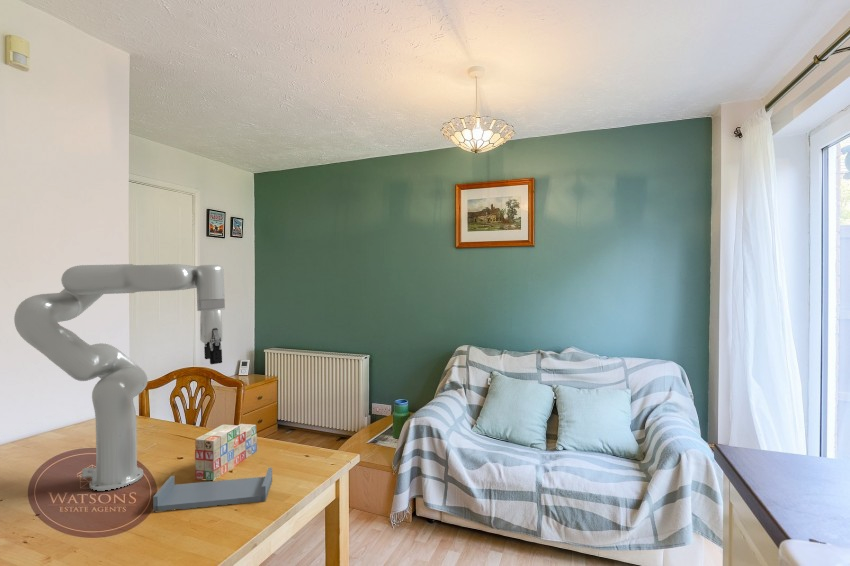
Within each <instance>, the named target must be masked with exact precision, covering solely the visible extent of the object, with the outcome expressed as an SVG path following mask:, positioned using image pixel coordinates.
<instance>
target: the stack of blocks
mask: <svg viewBox="0 0 850 566" xmlns="http://www.w3.org/2000/svg"><path fill="white" fill-rule="evenodd" d="M257 442H258V434H257V425H256V424H250V423H249V424H248V423H247V424H246V423H239V424H238V425H235V424H221V425H219V426H217V427H216V428H214V429H211V430H210V431H208V432H206V433H205V434H203V435H200V436H198V437H196V438H195V442H194V444H195V450H194V460H195V471H194V472H195V480H198V479H206V480H205V481H207V480H215V479H216V478H218V477H219V476H221V475H222V476H224V475H225V474H226V472H227V473H228V472H229V470H230V471H231V470H233V469H234V468H235V467H237V466H238V465H239V464H240V463H242V462H243V461H245V460H246V459H247V458H249V457H251V456H253V454H255V453H256V452H257V451H258V443H257ZM244 459H245V460H244ZM237 464H238V465H237ZM224 473H225V474H224ZM223 474H224V475H223ZM222 476H221V477H222ZM219 478H220V477H219ZM219 478H218V479H219ZM216 480H217V479H216ZM216 480H215V481H216Z"/></svg>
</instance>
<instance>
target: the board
mask: <svg viewBox="0 0 850 566" xmlns="http://www.w3.org/2000/svg"><path fill="white" fill-rule="evenodd" d="M266 471H267V472H266V474H265V476H256V477H245V478H244V477H243V478H235V479H234V478H233V479H224V480H215V481H200V482H192V483H191V482H190V483H179V484H177V483H176V484H175V482H176V481H175V477H176V476H175V475H170V476H169V478H168V479H167V480H166V481H165V482H164V483H163V485H162V486H161V487H160V488H159V489H158V490H157V492H156V493H155V494H154V495H153V496H152V504H153V506H152V507H153V509H152V512H153V513H155V512H154V511H162V512H166V511H165V510H172V511H175V510H174V509H182V510H189V509H190V510H192V509H198V508H197V507H202V508H209V507H208V506H212V507H218V506H217V505H222V506H228V505H227V504H232V505H239V504H240V503H242V504H249V503H250V504H251V503H259V502H267V498H268V495H269V493H270V490H271V489H270V488H271V486H272V482H273V467H267V470H266ZM191 508H192V509H191Z"/></svg>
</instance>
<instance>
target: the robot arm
mask: <svg viewBox="0 0 850 566" xmlns="http://www.w3.org/2000/svg"><path fill="white" fill-rule="evenodd" d="M224 275H225V273H224V268H223V266H221V265H218V264H201V265H190V264H189V265H188V264H176V263H174V264H170V263H169V264H132V263H128V264H127V263H121V264H120V263H119V264H116V263H115V264H82V265H80V264H79V265H75V266H72V267H69V268H67V269H65V271H64V272H63V273H62V276H61V279H60V280H61V285H62V287H63V289H62V290H61V291H59V292H51V293H41V294H36V295H31V296H29V297H27V298H25V299H24V300H22V301H21V302H20V304H18V306H17V307H16V310H15V312H14V313H15V314H14V317H13V320H14V321H13V322H14V327H15V329H16V331H17V333H18V335H19V336H20V337H21V338H22V339H23V340H24V342H26V343H27V344H28V345H30V346H31V347H33V348H34V349H35V350H37V351H38V352H40V353H41V354H42V355H44V356H45V357H46V358H47V359H48V360H49V361H51V362H52V363H53V364H54V365H55V366H56V367H58V368H59V369H61V371H63V372H64V373H66V375H68V376H70V377H71V378H72V379H74V380H76V381H79V382H87V381H91V380H94V379H96V378H99V380H98V381H97V383H96V384H95V385H94V387H93V389H92V392H91V399H92V405H93V410H94V417H95V444H96V445H95V451H96V452H95V453H96V455H95V457H96V460H95V461H96V465H95V467H84V468H82V470H81V479H88V478H91V479H90V481H89V489H91V490H92V489H93V490H92V491H95V490H97V491H96V492H106V491H105V490H108V491H112V490H111V489H114V490H117V489H116V488H118V489H121V488H120V487H122V488H125V487H127V485H128V486H130V485H132V484H135V483H136V482H137V481H139V480H140V479H142V477H143V476H144V470H143V468H141V467H138V465H137V464H138V452H137V451H138V444H137V443H138V442H137V439H138V438H137V437H138V435H137V431H138V430H137V428H138V427H137V425H138V424H137V412H136V407H135V403H134V399H135V397H137V396H138V395H140V394H141V393H143V391H144V390H145V389H146V387H147V386H148V375H147V374H146V372H145V370H143V368H142V367H140V366H139V365H138V364H137V363H135V361H133V360H132V359H130V358H129V357H128V356H127V355H126V354H124V352H122V351H121V350H120V349H118V348H117V347H116V346H113V345H112V344H108V343H103V342H102V343H94V344H89V343H87V342H86V341H85V340H83V339H82V338H81V337H80V336H78V335H77V334H76V333H75V332H73V331H72V330H70V329H68V328H66V327H65V326H62V325H61V324H59V323H60V322H61V323H62V322H66V321H70V320H72V319H73V320H74V319H76V318H77V317H79V316H80V315H82V314H83V313H84V312H85V311H86V310H88V309H89V308H90V307H91V306H92V305H93V304H95V302H97V301H98V300H99V299H100V298H101V297H103V295H112V294H113V295H114V294H134V293H139V292H140V293H141V292H164V291H165V292H167V291H168V292H170V291H184V290H192V289H196V306H197V307H196V309H197V310H196V311H197V312H200V318H199V321H200V322H199V323H200V325H199V326H200V330H199V333H200V334H199V336H200V337H199V339H200V342H201V343H203V344H204V348H203V350H204V351H203V352H204V359H205V360H209V364H210V365H217V364H222V363H223V350H222V344H221V342H223V315H222V311H223V310H226V304H225V303H226V302H225V301H226V299H225V297H226V296H225V277H224ZM129 484H130V485H129ZM124 486H125V487H124Z"/></svg>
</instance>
